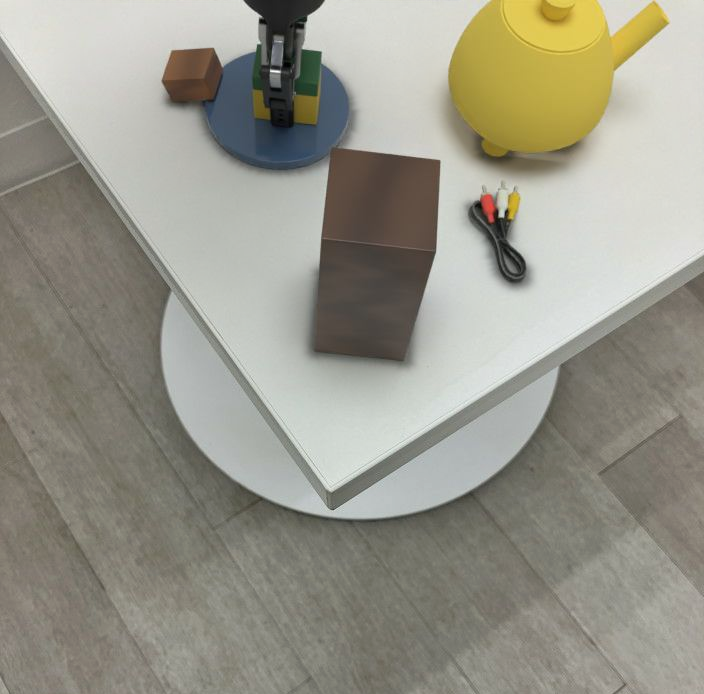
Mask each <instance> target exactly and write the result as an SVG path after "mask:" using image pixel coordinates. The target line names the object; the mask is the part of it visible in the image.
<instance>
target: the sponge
mask: <svg viewBox="0 0 704 694" xmlns="http://www.w3.org/2000/svg"><path fill="white" fill-rule="evenodd" d="M255 52H256V54H255V60H254V66H253V73H252V86H253V101H254V116H255V118H258V119H267V120H270V108H265V106H264V103H263V92H262V85H261V76H259V70H260V69H261V43H257V44H256V49H255ZM269 57H270V58H271V56H270V54H269ZM322 58H323V52H322V51H321V50H314V49H304V48H302V61H301V71H300V76H299V77H298V78H296V79H295V91H296V97H294V123H303V124H312V125H316V124H317V118H318V109H319V101H320V90H321V63H322V61H323V59H322ZM294 61H295V54H294V59H291V60H289V61H284V60H283V62H294Z"/></svg>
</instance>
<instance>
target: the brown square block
mask: <svg viewBox="0 0 704 694" xmlns="http://www.w3.org/2000/svg"><path fill="white" fill-rule="evenodd" d="M222 71H223V66H222V63H221V61H220V58H219V56H218V54H217V52H216V48H215V47H200V48H186V49H185V48H184V49H172V50H171V52H170V54H169V57H168V60H167V62H166V65H165V68H164V71H163V74H162V76H161V80H160V81H161V83H162V86H163V87H164V89H165V91H166V93H167V95H168V97H169V98H170V101H171V102H193V101H205V100H213V99H214V97H215V94H216V90H217V87H218V84H219V81H220V78H221V74H222Z"/></svg>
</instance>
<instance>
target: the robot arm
mask: <svg viewBox="0 0 704 694" xmlns="http://www.w3.org/2000/svg"><path fill="white" fill-rule="evenodd" d="M243 2H244V4H245V5H246V6H248V7H249V8H250V9H251V10H253V12H255V13H257V14H258V15H259V17H258V25H257V26H258V27H257V31H258V32H257V37H258V41H259V43H260V44H261V69H260V70H259V76H261V85H262V92H263V103H264V106H265V108H270V122H271V124H272V125H273V126H276V127H284V128H291V127H293V124H294V97H296V91H295V79H296V78H298V77H299V76H300V71H301V61H302V49H303V46H304V44H305V42H306V33H307V22H308V19H309V16H310V15H312V14H313V13H315V12H316V11H317V10H319V9H320V8H321V7H322V5H323V4H324V3H325V2H326V0H243ZM269 54H270V56H271V58H270V57H269ZM294 54H295V61H294V62H283V60H284V61H289V60H291V59H294Z"/></svg>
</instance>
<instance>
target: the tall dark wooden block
mask: <svg viewBox="0 0 704 694" xmlns="http://www.w3.org/2000/svg"><path fill="white" fill-rule="evenodd" d="M329 155H330V156H329V163H328V170H327V171H328V172H327V180H326V191H325V199H324V210H323V217H322V226H321V236H320V248H319V265H318V266H319V267H318V282H317V295H316V311H315V327H314V339H313V340H314V341H313V342H314V343H313V351H314V352H319V353H329V354H337V355H338V354H339V355H347V356H355V357H357V356H358V357H366V358H374V359H375V358H376V359H385V360H395V361H406V356H407V353H408V349H409V346H410V343H411V339H412V335H413V333H414V332H413V331H414V329H415V326H416V322H417V319H418V316H419V312H420V308H421V305H422V301H423V298H424V294H425V291H426V288H427V285H428V282H429V278H430V275H431V271H432V267H433V264H434V261H435V257H436V254H437V247H438V245H437V244H438V224H439V223H438V222H439V205H440V203H439V202H440V186H441V185H440V184H441V164H442V163H441V162H442V161H441V159H435V158H428V157H427V158H426V157H419V156H411V155H404V154H403V155H402V154H393V153H387V152H386V153H384V152H377V151H368V150H359V149H351V148H343V147H336V148H335V147H332V148H331V152H330V153H329Z"/></svg>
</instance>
